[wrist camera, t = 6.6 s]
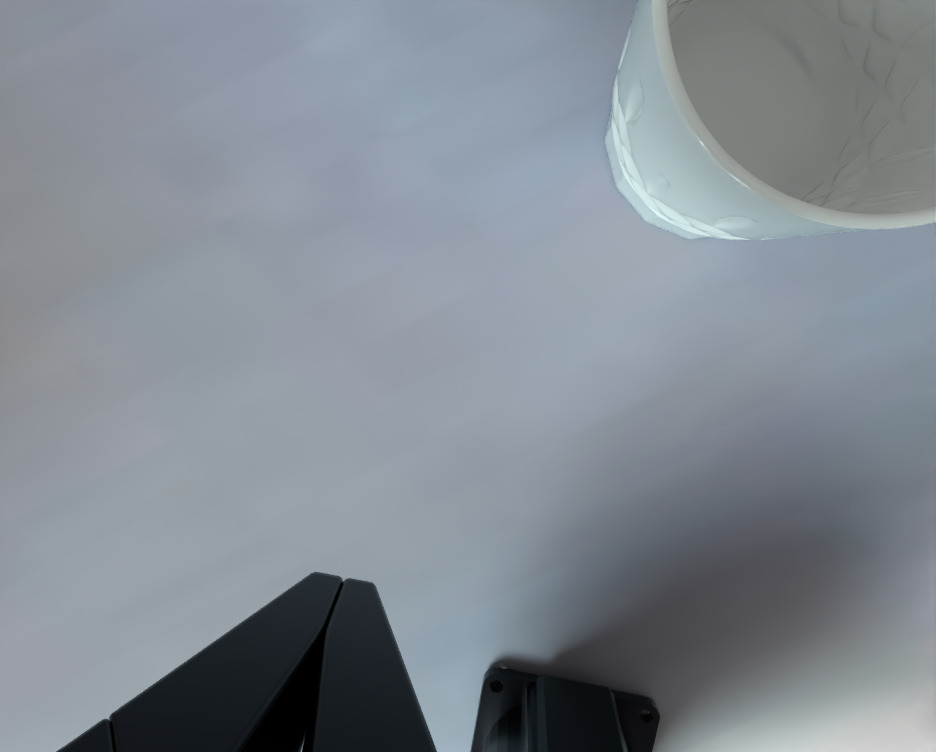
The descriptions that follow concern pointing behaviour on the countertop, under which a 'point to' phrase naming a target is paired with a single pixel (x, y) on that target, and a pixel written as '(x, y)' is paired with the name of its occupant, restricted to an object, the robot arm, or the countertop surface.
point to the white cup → (777, 116)
